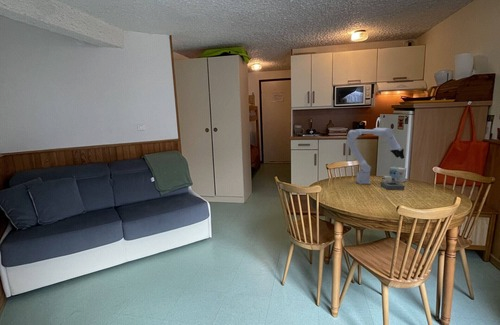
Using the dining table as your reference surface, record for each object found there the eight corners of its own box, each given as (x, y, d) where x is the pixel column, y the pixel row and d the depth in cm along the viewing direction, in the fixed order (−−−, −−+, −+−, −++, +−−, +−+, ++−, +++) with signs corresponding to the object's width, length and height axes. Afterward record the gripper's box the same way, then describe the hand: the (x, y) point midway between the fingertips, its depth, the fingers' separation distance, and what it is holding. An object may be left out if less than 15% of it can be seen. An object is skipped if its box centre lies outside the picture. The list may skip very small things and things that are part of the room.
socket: (387, 189, 196) (387, 185, 196) (380, 185, 207) (381, 182, 206) (404, 189, 195) (404, 185, 195) (397, 185, 206) (397, 181, 206)
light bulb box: (388, 180, 223) (389, 167, 221) (391, 178, 227) (392, 166, 225) (402, 182, 215) (403, 169, 213) (405, 181, 219) (406, 168, 217)
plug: (382, 184, 211) (383, 177, 209) (380, 183, 214) (381, 176, 213) (391, 184, 210) (391, 177, 209) (389, 183, 214) (389, 176, 212)
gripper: (402, 140, 200) (410, 156, 201) (393, 139, 215) (400, 154, 216) (393, 144, 201) (401, 160, 202) (385, 143, 216) (392, 158, 217)
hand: (400, 157), depth 209 cm, fingers open, 7 cm apart
